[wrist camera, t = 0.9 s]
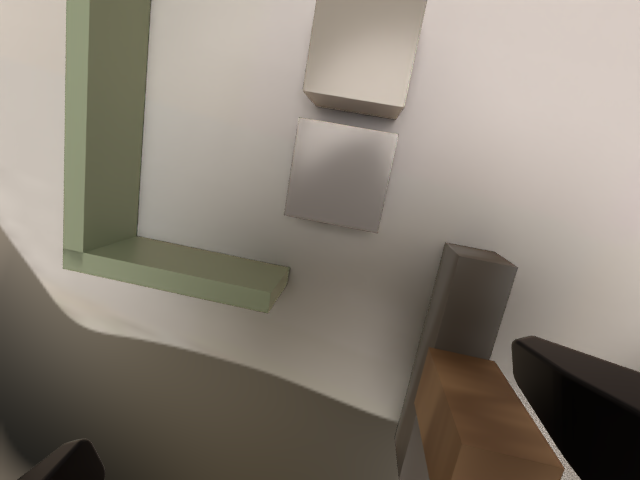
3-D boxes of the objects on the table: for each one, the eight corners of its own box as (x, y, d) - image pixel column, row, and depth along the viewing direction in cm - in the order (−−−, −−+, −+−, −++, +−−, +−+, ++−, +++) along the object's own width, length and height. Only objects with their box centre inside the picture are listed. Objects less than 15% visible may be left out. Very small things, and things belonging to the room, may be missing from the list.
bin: (347, -94, 16) (341, -176, 12) (287, 284, 20) (267, 313, 16) (137, -118, 17) (69, -203, 13) (119, 249, 21) (62, 268, 17)
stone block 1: (414, 31, 17) (429, -10, 13) (395, 119, 18) (404, 107, 14) (330, 18, 17) (320, -24, 13) (315, 106, 18) (302, 90, 14)
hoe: (499, 252, 18) (618, 330, 10) (441, 448, 21) (494, 648, 12) (439, 240, 19) (504, 307, 10) (390, 435, 21) (406, 623, 13)
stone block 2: (391, 140, 18) (398, 134, 14) (374, 218, 19) (377, 233, 15) (312, 127, 18) (298, 117, 14) (300, 204, 19) (283, 215, 15)
